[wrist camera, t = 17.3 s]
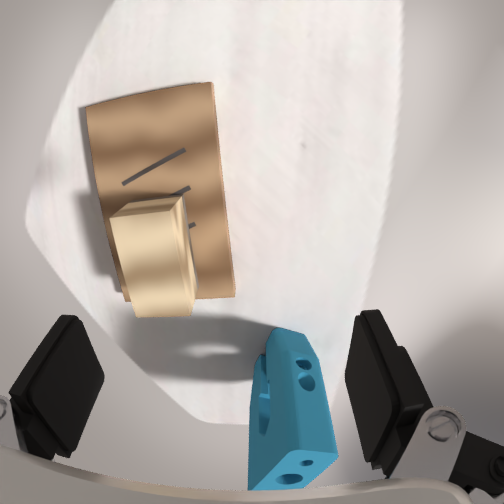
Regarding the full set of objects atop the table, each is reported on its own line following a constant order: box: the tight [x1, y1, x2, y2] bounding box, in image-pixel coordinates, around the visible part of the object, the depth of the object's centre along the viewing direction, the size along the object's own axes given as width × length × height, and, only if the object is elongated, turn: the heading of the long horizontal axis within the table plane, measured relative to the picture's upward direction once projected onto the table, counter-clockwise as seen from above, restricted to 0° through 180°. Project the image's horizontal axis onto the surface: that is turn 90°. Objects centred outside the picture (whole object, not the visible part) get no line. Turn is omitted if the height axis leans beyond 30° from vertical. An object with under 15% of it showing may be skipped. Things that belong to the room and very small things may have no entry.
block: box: [248, 328, 338, 491], centre depth 35 cm, size 12×5×20 cm, turn 160°
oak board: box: [85, 82, 236, 302], centre depth 35 cm, size 24×14×2 cm, turn 5°
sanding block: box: [110, 194, 199, 317], centre depth 33 cm, size 11×6×6 cm, turn 5°
